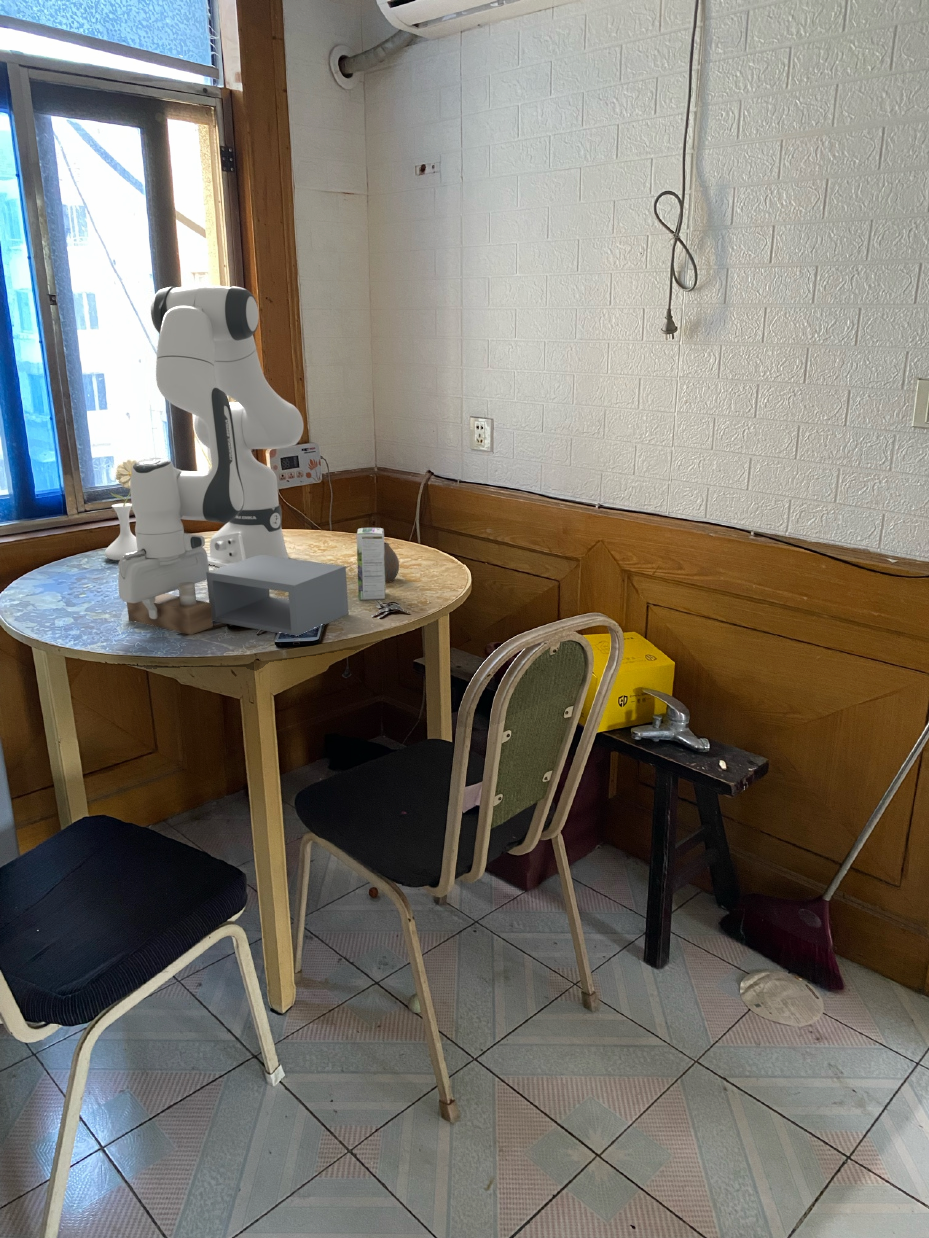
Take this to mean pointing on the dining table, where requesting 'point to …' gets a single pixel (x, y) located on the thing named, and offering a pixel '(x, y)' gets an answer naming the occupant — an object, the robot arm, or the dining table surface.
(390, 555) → the vase
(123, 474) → the flower in vase
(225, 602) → the slate shelf
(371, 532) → the syrup box
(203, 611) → the twin candle holder
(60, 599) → the dining table surface
